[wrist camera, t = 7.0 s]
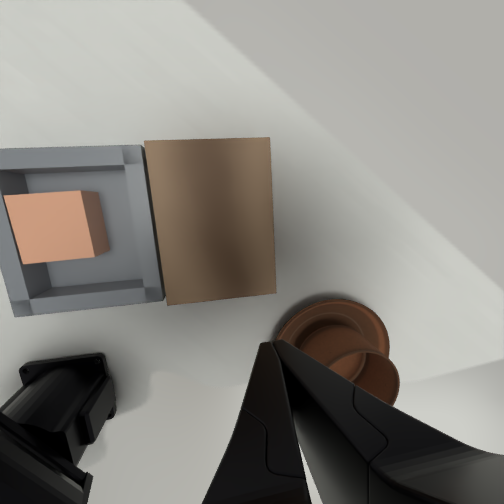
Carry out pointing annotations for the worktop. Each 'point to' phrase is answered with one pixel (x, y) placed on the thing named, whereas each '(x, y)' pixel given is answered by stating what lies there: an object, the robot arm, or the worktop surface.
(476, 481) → the robot arm
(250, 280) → the tan wooden board
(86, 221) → the tile
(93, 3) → the worktop surface
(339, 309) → the cup and saucer
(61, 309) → the box
